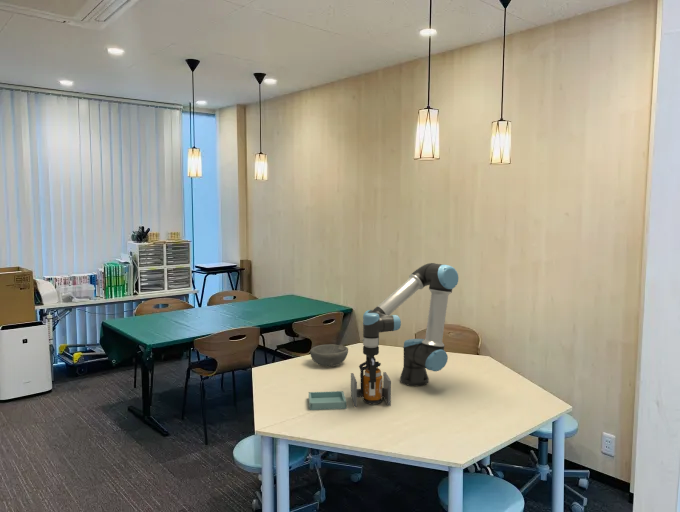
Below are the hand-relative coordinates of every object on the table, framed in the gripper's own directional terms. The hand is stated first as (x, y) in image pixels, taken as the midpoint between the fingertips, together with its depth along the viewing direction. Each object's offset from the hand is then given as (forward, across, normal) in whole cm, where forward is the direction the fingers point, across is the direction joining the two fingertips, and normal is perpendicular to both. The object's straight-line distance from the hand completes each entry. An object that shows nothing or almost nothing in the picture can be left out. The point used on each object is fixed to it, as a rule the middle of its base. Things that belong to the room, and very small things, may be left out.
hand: (370, 391), depth 255 cm
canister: (+5, 0, 0) cm, 5 cm away
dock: (+5, 0, 0) cm, 5 cm away
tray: (+5, 0, -21) cm, 22 cm away
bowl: (+5, -63, -15) cm, 65 cm away
